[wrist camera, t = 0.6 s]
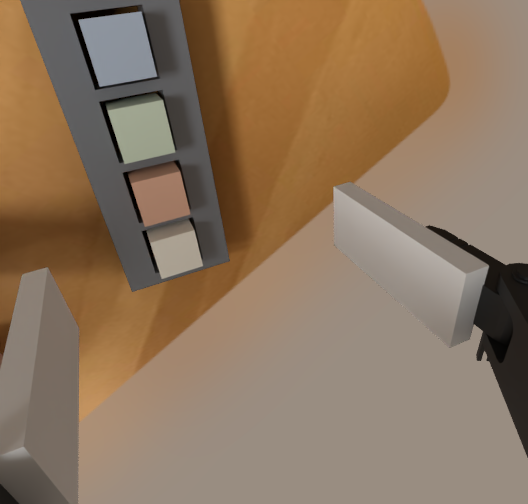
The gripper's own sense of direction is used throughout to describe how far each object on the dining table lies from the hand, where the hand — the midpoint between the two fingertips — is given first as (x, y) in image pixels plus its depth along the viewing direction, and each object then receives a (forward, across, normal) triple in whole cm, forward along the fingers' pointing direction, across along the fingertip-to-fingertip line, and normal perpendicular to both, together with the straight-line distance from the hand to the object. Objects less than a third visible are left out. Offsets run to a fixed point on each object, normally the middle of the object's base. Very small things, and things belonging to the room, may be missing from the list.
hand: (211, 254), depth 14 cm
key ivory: (+22, 0, -11) cm, 25 cm away
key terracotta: (+22, 0, -5) cm, 23 cm away
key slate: (+22, 0, +6) cm, 23 cm away
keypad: (+24, 0, -3) cm, 24 cm away
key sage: (+22, 0, 0) cm, 22 cm away
